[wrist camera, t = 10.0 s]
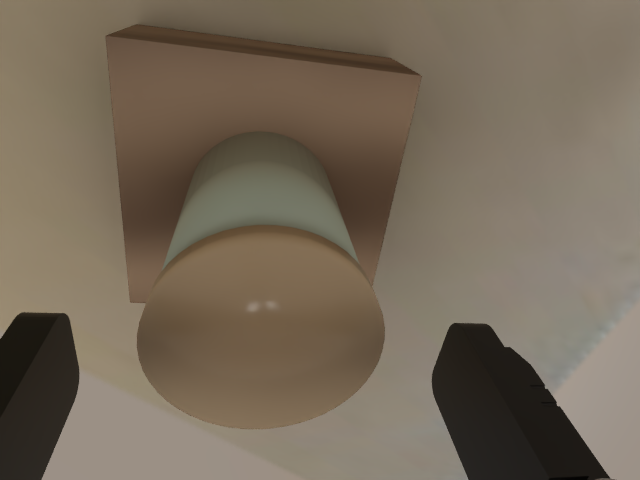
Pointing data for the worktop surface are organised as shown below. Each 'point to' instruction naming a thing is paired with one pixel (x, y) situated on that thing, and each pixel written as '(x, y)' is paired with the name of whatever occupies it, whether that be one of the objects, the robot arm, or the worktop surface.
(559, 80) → the worktop surface
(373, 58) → the plinth
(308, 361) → the jar
